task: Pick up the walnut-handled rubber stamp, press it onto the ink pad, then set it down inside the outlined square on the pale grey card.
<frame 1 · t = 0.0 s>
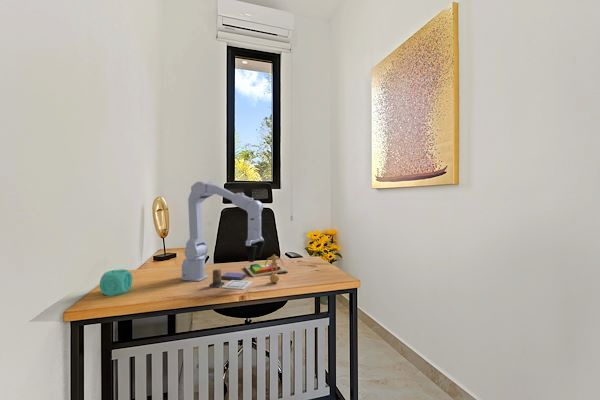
hand: (254, 259, 121), 10 cm above the table, fingers open, 7 cm apart
stamp: (217, 285, 118), on the table
wooden puzzle: (265, 271, 142), on the table
figurine: (274, 282, 123), on the table
ink pad: (233, 277, 129), on the table
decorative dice: (116, 292, 109), on the table
card sheet: (237, 284, 119), on the table
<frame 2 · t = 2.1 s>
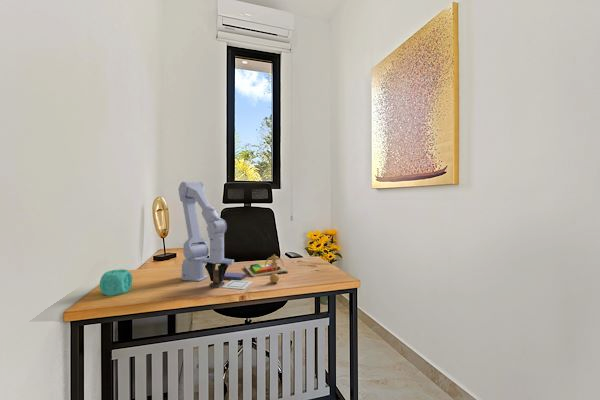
hand: (217, 281, 118), 2 cm above the table, fingers closed on stamp, 3 cm apart
stamp: (217, 285, 118), on the table, touching gripper
everything else where it was.
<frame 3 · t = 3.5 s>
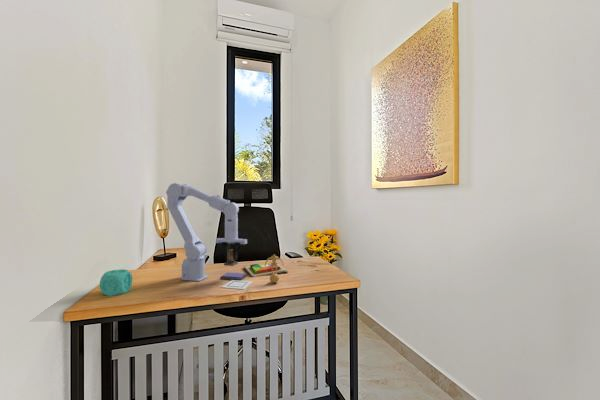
hand: (231, 259, 127), 9 cm above the table, fingers closed on stamp, 3 cm apart
stamp: (230, 264, 126), point 7 cm above the table, touching gripper
everything else where it was.
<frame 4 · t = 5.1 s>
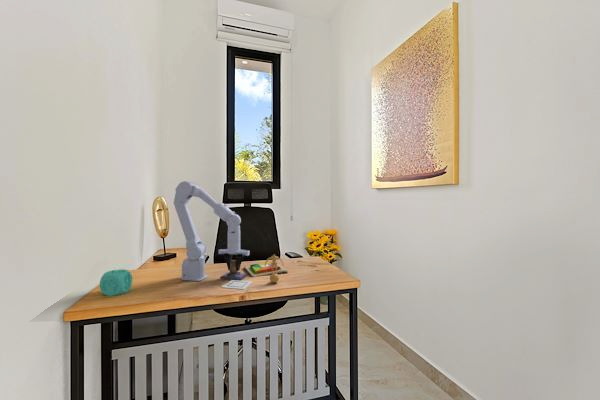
hand: (233, 270, 129), 3 cm above the table, fingers closed on stamp, 3 cm apart
stamp: (233, 275, 129), point 1 cm above the table, touching gripper, ink pad
everything else where it was.
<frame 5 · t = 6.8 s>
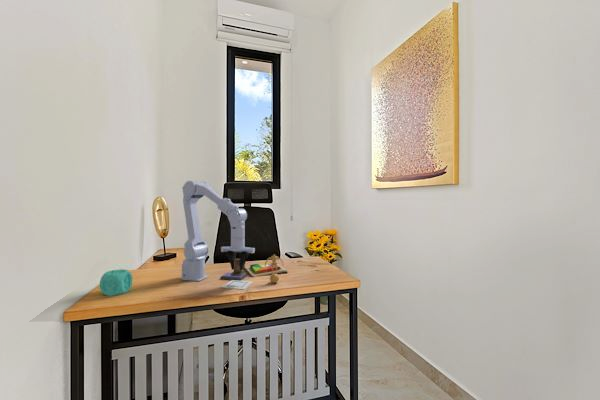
hand: (237, 269, 119), 7 cm above the table, fingers closed on stamp, 3 cm apart
stamp: (237, 274, 119), point 4 cm above the table, touching gripper
everything else where it was.
when the fingers open (2 cm above the table, at t = 7.9 s): stamp stays where it is, resting on card sheet.
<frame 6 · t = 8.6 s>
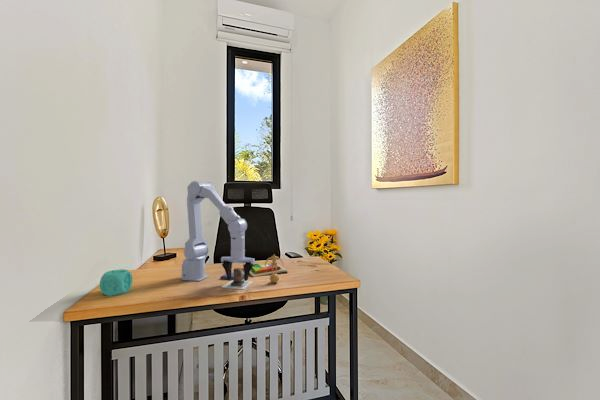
hand: (237, 279, 119), 2 cm above the table, fingers open, 7 cm apart
stamp: (237, 284, 119), resting on card sheet
everything else where it was.
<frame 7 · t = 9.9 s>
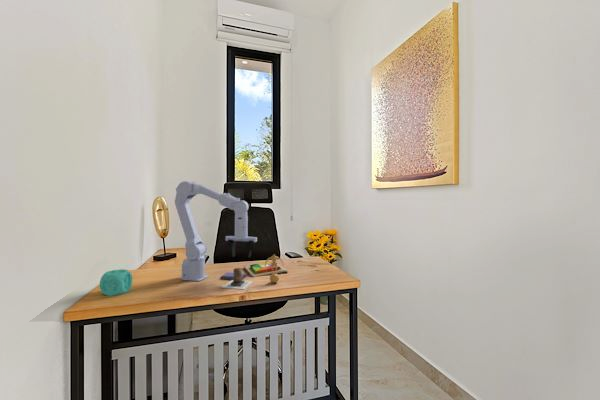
hand: (241, 257, 127), 10 cm above the table, fingers open, 7 cm apart
nothing on the table moved.
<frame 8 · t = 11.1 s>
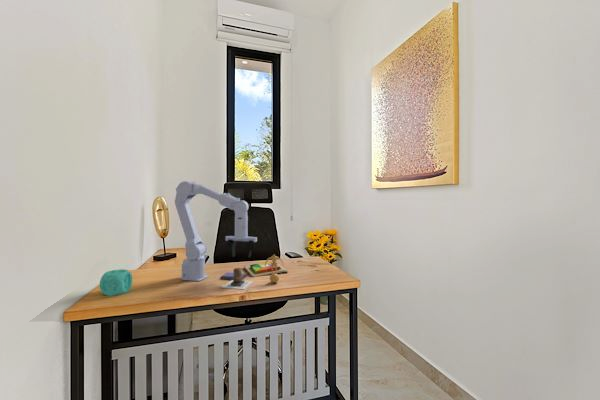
hand: (241, 257, 127), 10 cm above the table, fingers open, 7 cm apart
nothing on the table moved.
at the end: stamp 0.1 cm off-centre on the card sheet, point 0.2 cm above the card sheet's base; stamp tilted 0°; the gripper is holding nothing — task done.
